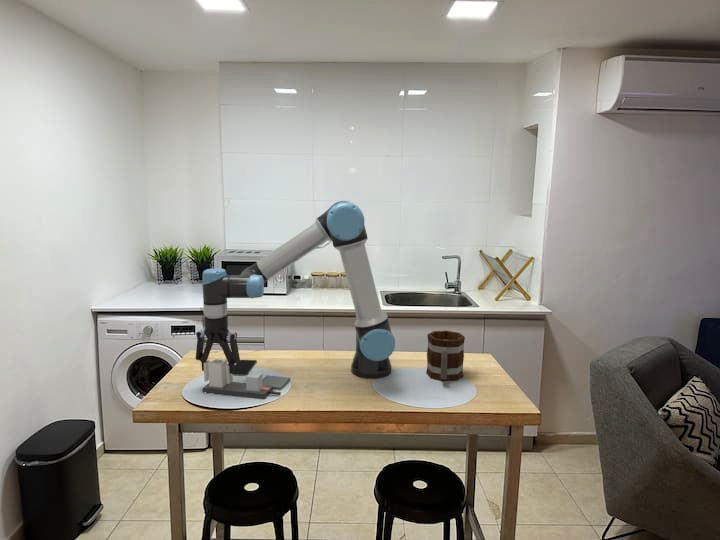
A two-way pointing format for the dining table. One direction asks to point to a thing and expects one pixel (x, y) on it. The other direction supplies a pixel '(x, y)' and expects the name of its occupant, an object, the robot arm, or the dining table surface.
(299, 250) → the robot arm
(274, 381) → the coaster
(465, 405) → the dining table surface
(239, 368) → the smartphone
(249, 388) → the cube
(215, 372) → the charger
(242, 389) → the power strip
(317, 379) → the dining table surface
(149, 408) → the dining table surface
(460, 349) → the mug
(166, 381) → the dining table surface
